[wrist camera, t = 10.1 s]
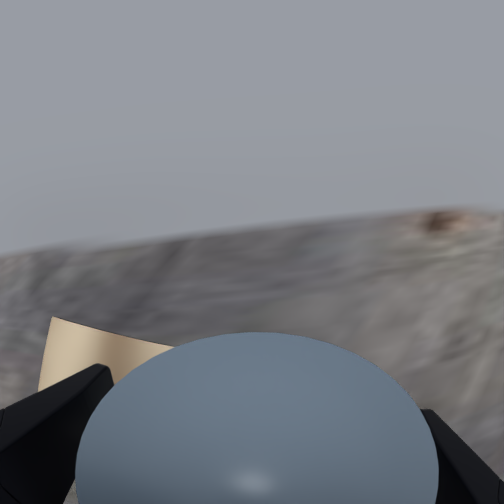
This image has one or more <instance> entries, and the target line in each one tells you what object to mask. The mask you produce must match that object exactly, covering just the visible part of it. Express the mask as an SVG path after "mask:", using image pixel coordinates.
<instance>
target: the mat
mask: <svg viewBox="0 0 504 504" xmlns="http://www.w3.org/2000/svg"><path fill="white" fill-rule="evenodd" d="M172 348H174V347H171V346H166V345H161V344H156V343H151V342H147V341H142V340H138V339H134V338H129V337H125V336H121V335H117V334H113V333H109V332H105V331H101V330H97V329H94V328H90V327H86V326H83V325H79V324H76V323H72V322H69V321H65V320H62V319H59V318H55V317H52V320H51V324H50V329H49V333H48V338H47V342H46V347H45V352H44V357H43V363H42V369H41V375H40V381H39V388H38V392H39V391H41V390H43V389H45V388H47V387H49V386H51V385H53V384H55V383H57V382H59V381H61V380H63V379H65V378H67V377H69V376H71V375H73V374H75V373H77V372H79V371H81V370H83V369H85V368H87V367H89V366H91V365H93V364H95V363H100V364H103V365H106V366H108V367H109V368H110V370H111V374H112V378H113V382H114V385H115V384H116V383H117V382H119V381H120V380H121V379H122V378H123V377H125V376H126V375H127V374H128V373H129V372H131V371H132V370H133V369H135V368H136V367H138V366H139V365H141V364H143V363H144V362H146V361H147V360H149V359H151V358H152V357H154V356H156V355H159V354H161V353H163V352H165V351H167V350H170V349H172Z"/></svg>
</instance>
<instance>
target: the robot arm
mask: <svg viewBox="0 0 504 504" xmlns="http://www.w3.org/2000/svg"><path fill="white" fill-rule="evenodd" d="M113 386H114V382H113V378H112V374H111V370H110V368H109V367H108V366H106V365H103V364H100V363H95V364H93V365H91V366H89V367H87V368H85V369H83V370H81V371H79V372H77V373H75V374H73V375H71V376H69V377H67V378H65V379H63V380H61V381H59V382H57V383H55V384H53V385H51V386H49V387H47V388H45V389H43V390H41V391H39V392H37V393H35V394H33V395H31V396H29V397H27V398H25V399H22V400H20V401H18V402H16V403H14V404H12V405H10V406H8V407H6V408H5V409H1V410H0V504H63V503H64V500H65V498H66V496H67V494H68V492H69V490H70V488H71V486H72V484H73V482H74V480H75V469H76V459H77V452H78V448H79V445H80V441H81V437H82V434H83V432H84V430H85V427H86V425H87V423H88V421H89V419H90V417H91V415H92V413H93V412H94V410H95V409H96V407H97V406H98V404H99V403H100V401H101V400H102V399H103V398H104V396H105V395H106V394H107V393H108V392H109V391H110V390H111V389H112V387H113ZM420 411H421V412H422V414H423V416H424V418H425V420H426V422H427V424H428V426H429V428H430V431H431V434H432V437H433V440H434V443H435V447H436V452H437V459H438V466H439V475H438V490H437V496H436V502H435V504H504V482H503V481H502V480H501V479H500V478H499V477H498V476H497V475H496V474H495V473H494V472H493V470H492V469H491V468H490V467H489V466H488V465H487V464H486V463H485V462H484V461H483V460H482V459H481V458H480V457H479V456H478V455H477V454H476V453H475V452H474V451H473V450H472V449H471V448H470V447H469V446H468V445H467V444H466V443H465V442H464V441H463V440H462V439H461V438H460V437H459V436H458V435H457V434H456V433H455V432H454V431H453V430H452V429H451V428H450V427H449V426H448V425H447V424H446V423H445V422H444V421H443V420H442V419H441V418H440V417H439V416H438V415H437V414H436V413H435V412H434V411H433V410H431V409H420Z"/></svg>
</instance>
